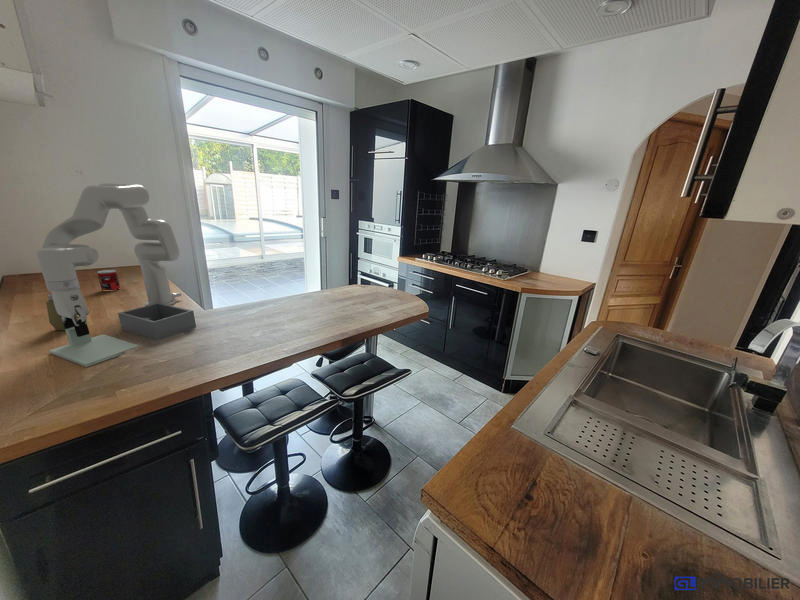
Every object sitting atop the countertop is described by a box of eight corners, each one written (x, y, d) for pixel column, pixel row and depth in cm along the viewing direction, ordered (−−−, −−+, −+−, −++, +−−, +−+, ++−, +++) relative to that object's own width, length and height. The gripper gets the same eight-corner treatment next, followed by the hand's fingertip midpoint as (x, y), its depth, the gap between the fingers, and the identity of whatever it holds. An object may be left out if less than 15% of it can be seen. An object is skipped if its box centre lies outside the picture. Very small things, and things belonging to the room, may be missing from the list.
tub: (162, 319, 137) (158, 302, 135) (196, 328, 129) (193, 310, 127) (122, 331, 124) (117, 313, 121) (158, 342, 116) (153, 322, 113)
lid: (104, 338, 119) (99, 319, 116) (140, 349, 111) (135, 330, 109) (50, 354, 105) (43, 334, 103) (86, 368, 98) (79, 347, 95)
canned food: (98, 290, 174) (93, 271, 171) (114, 287, 182) (110, 269, 178) (108, 292, 172) (103, 273, 169) (123, 288, 180) (119, 270, 176)
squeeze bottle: (46, 332, 120) (31, 288, 115) (61, 325, 128) (48, 283, 122) (72, 331, 123) (58, 287, 117) (85, 323, 130) (73, 282, 125)
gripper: (91, 285, 104) (105, 334, 110) (64, 279, 111) (78, 325, 116) (61, 290, 98) (77, 342, 103) (34, 283, 104) (50, 333, 109)
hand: (77, 333), depth 109 cm, fingers open, 6 cm apart
